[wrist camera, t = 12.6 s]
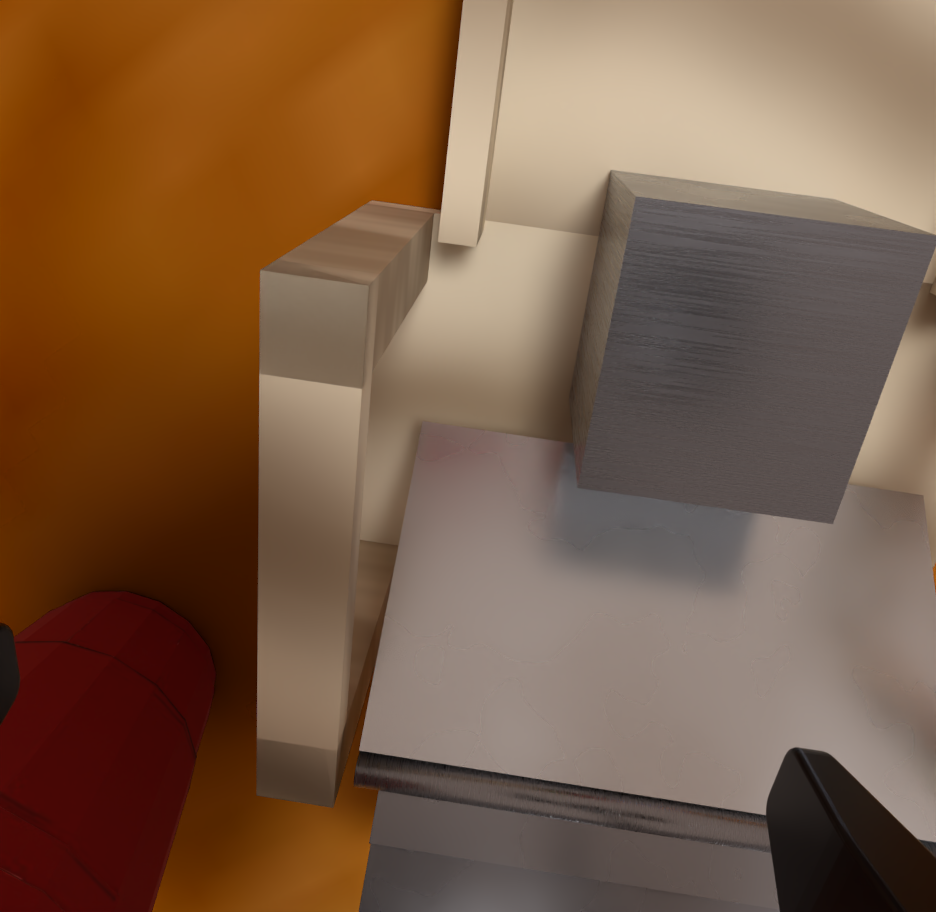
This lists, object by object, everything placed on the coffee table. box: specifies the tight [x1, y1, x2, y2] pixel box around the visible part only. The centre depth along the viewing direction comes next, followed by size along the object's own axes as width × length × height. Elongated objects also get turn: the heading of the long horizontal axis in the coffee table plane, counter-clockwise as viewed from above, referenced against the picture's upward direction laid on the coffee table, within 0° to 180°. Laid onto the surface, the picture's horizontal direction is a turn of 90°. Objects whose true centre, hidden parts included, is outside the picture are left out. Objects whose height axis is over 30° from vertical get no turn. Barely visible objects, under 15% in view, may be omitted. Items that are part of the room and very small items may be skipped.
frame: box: [257, 0, 936, 808], centre depth 15 cm, size 21×16×8 cm
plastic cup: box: [0, 591, 216, 912], centre depth 20 cm, size 11×11×12 cm
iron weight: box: [569, 170, 936, 524], centre depth 16 cm, size 5×5×6 cm
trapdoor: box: [354, 421, 936, 912], centre depth 18 cm, size 13×12×6 cm
